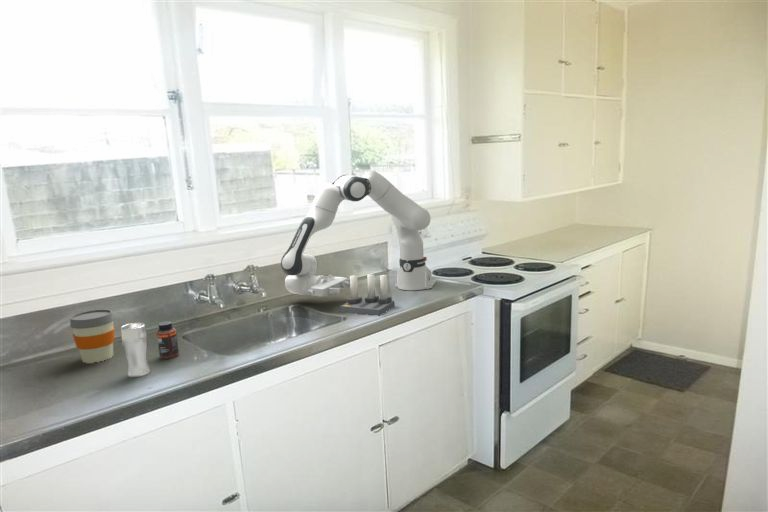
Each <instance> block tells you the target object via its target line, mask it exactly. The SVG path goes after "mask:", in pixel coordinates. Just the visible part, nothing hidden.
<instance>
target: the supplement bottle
mask: <svg viewBox="0 0 768 512" xmlns="http://www.w3.org/2000/svg"><path fill="white" fill-rule="evenodd" d="M158 328H159V329H158V330H157V331H156V338H157V344H158V353H159V358H160V359H162V360H163V359H164V360H166V359H173V358H176V357H177V356H179V354H180V353H179V352H180V350H179V344H178V336H177V330H176V328H175V327H173V322H172V321H167V320H166V321H163V322H159V324H158Z"/></svg>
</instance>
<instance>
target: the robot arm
mask: <svg viewBox="0 0 768 512" xmlns="http://www.w3.org/2000/svg"><path fill="white" fill-rule="evenodd" d="M367 196H368V197H370V199H371V200H372V201H374V202H375V203H376V204H377V205H378V206H379V207H380V208H381V209H383V211H385V212H386V213H388V214H389V215H391V220H392V223H393V224H394V226H395V229H396V234H397V237H398V240H399V242H398V243H399V258H398V259H399V261H398V262H399V268H398V269H397V270H396V271H397V272H396V274H397V275H396V277H397V279H396V282H395V283H394V286H395V287H397V289H399V290H403V291H421V290H429V289H430V288H431V289H432V288H433V287H434V286H435V284H436V283H437V280H436V279H433V278H432V271H431V269H430V268H429V267H428V266H427V265H426V263H427V261H428V257H427V256H424V240H423V239H422V237H421V235H420V232H419V231H421V230H425V229H427V227H428V226H429V225H430V223H431V218H432V217H431V214H430V212H429V211H428V210H426V209H425V208H424V207H422V206H421V205H419V204H418V203H417V202H415V201H414V200H412V199H411V198H409V196H406V195H405V194H404V193H403V192H401V191H400V190H399V189H398V188H397V187H396V186H395V185H394V184H392V183H391V182H390V181H389V180H388V179H387V178H386V177H384V175H382V174H380V173H379V172H377V171H375V170H368V171H365V173H363V175H362V176H358V175H353V174H342V175H341V176H339V177H338V178H336V180H334V181H333V182H332V183H324V184H322V185H321V186H320V187H319V189H318V191H317V192H316V195H315V197H314V199H313V201H312V204H311V207H310V210H309V211H308V213H307V215H306V216H305V217H304V218H303V219H302V220H301V223H300V224H299V226H298V228H297V230H296V232H295V234H294V237H293V239H292V241H291V243H290V245H289V246H288V249H287V250H286V251H285V252H284V254H283V255H282V257H281V260H280V265H281V266H280V267H281V270H282V272H283V273H284V274H285V275H286V277H285V279H284V286H285V288H286V290H287V291H288V292H290V293H291V294H295V295H302V296H305V295H309V296H313V297H319V298H321V297H322V298H323V297H327V296H329V295H331V294H340V293H342V289H345V288H348V289H350V281H349V279H348V278H347V277H346V276H345V277H343V276H337V275H336V276H335V275H332V274H324V275H322V274H321V275H319V274H318V275H317V273H318V272H317V271H318V266H319V263H318V260H317V257H316V256H314V254H311V253H310V254H309V253H304V251H305V249H306V248H307V245H308V243H309V240H310V239H311V237H312V236H313V235H315V233H317V232H319V231H322V230H326V229H328V228H329V227H330V226H331V225H332V223H333V222H334V220H335V217H336V215H337V212H338V210H339V206H340V204H342V202H343V201H344V200H346V201H350V202H360V201H362V200H363V199H365V198H366V197H367ZM433 285H434V286H433Z"/></svg>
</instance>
